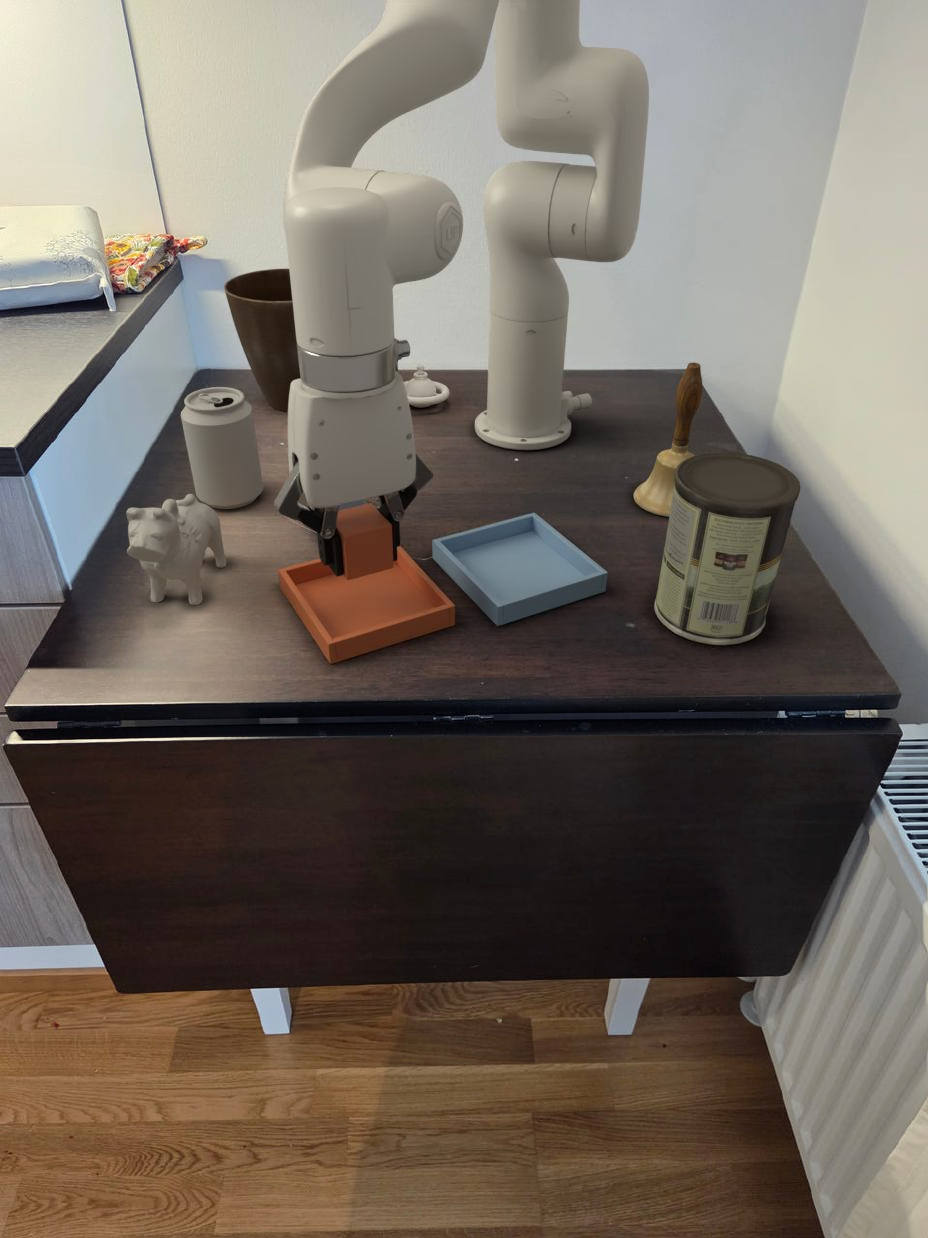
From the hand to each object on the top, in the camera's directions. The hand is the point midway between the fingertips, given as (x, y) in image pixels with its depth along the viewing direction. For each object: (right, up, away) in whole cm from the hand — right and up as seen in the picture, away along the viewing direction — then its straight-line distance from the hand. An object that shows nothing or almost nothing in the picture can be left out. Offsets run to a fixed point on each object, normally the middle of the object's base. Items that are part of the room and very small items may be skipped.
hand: (361, 559), depth 79 cm
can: (-17, +8, +21) cm, 28 cm away
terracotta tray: (0, -4, +3) cm, 5 cm away
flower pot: (-14, +25, +43) cm, 52 cm away
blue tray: (+15, -1, +8) cm, 17 cm away
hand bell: (+33, +8, +21) cm, 40 cm away
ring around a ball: (+3, +24, +42) cm, 49 cm away
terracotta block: (0, 0, 0) cm, 0 cm away
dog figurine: (-17, -2, +6) cm, 19 cm away
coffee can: (+32, -5, +3) cm, 33 cm away
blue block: (-4, +4, +14) cm, 15 cm away
